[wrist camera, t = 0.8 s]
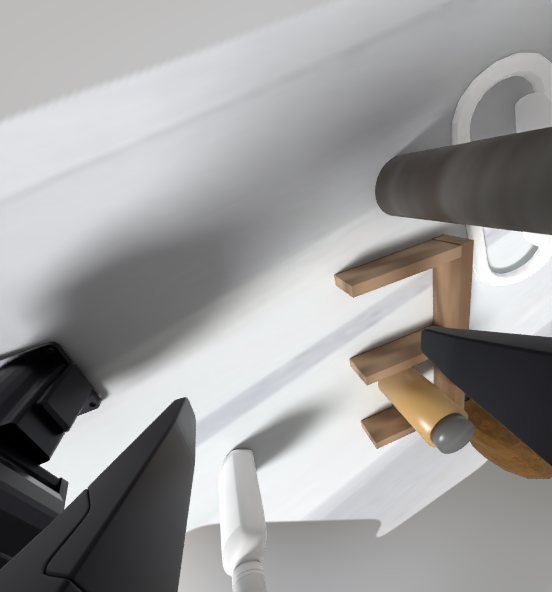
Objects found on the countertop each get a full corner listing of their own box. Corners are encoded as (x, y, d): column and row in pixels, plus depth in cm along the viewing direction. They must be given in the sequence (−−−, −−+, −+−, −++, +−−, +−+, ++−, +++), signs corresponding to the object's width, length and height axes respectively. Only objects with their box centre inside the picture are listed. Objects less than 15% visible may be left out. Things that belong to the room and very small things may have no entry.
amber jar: (380, 399, 30) (435, 464, 23) (376, 370, 28) (434, 431, 21) (413, 385, 31) (477, 444, 24) (411, 356, 29) (480, 410, 22)
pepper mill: (378, 222, 22) (688, 277, 8) (372, 163, 20) (768, 96, 6) (425, 206, 23) (793, 230, 8) (424, 147, 21) (898, 51, 7)
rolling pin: (428, 97, 21) (459, 86, 18) (536, 34, 20) (592, 9, 16) (466, 289, 30) (491, 306, 27) (543, 256, 28) (580, 270, 25)
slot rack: (362, 427, 31) (377, 449, 28) (334, 274, 23) (351, 285, 20) (442, 391, 33) (463, 409, 30) (443, 234, 24) (474, 239, 21)
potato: (491, 365, 33) (579, 418, 25) (511, 409, 38) (591, 465, 30) (438, 407, 34) (510, 472, 26) (466, 445, 39) (532, 509, 31)
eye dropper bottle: (201, 475, 28) (200, 659, 17) (239, 441, 27) (263, 606, 16) (231, 488, 29) (247, 661, 19) (267, 457, 29) (304, 614, 18)
